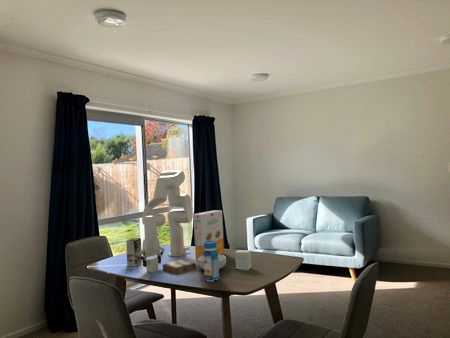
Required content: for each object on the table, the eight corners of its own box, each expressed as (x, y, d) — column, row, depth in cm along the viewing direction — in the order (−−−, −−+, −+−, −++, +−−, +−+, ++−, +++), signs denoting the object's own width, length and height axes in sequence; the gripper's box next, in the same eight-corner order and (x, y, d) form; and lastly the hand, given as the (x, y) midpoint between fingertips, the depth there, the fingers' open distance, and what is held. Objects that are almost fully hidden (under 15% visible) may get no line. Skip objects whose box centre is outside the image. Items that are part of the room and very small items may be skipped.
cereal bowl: (194, 268, 220) (194, 256, 220) (220, 264, 225) (220, 252, 225) (203, 275, 204) (202, 262, 204) (230, 271, 209) (230, 258, 210)
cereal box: (216, 253, 257) (214, 210, 257) (223, 253, 253) (222, 210, 253) (195, 260, 239) (193, 214, 239) (203, 261, 235) (200, 214, 235)
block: (154, 268, 222) (153, 257, 222) (158, 270, 218) (157, 258, 218) (146, 270, 219) (146, 258, 219) (151, 272, 215) (150, 260, 215)
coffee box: (136, 266, 230) (135, 240, 230) (126, 266, 231) (125, 240, 231) (142, 262, 239) (141, 237, 239) (133, 262, 240) (132, 237, 240)
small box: (251, 268, 213) (250, 250, 213) (249, 270, 208) (248, 252, 208) (238, 267, 216) (237, 249, 216) (235, 270, 211) (234, 251, 211)
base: (182, 265, 227) (181, 258, 227) (195, 269, 216) (195, 262, 216) (162, 270, 218) (162, 263, 218) (176, 274, 207) (175, 267, 207)
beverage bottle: (220, 281, 191) (218, 242, 191) (204, 282, 190) (202, 243, 190) (219, 276, 199) (217, 239, 199) (203, 277, 199) (202, 240, 199)
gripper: (160, 233, 227) (161, 261, 227) (134, 237, 216) (135, 267, 215) (166, 234, 222) (167, 263, 221) (141, 239, 210) (142, 269, 210)
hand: (152, 265), depth 218 cm, fingers open, 9 cm apart
